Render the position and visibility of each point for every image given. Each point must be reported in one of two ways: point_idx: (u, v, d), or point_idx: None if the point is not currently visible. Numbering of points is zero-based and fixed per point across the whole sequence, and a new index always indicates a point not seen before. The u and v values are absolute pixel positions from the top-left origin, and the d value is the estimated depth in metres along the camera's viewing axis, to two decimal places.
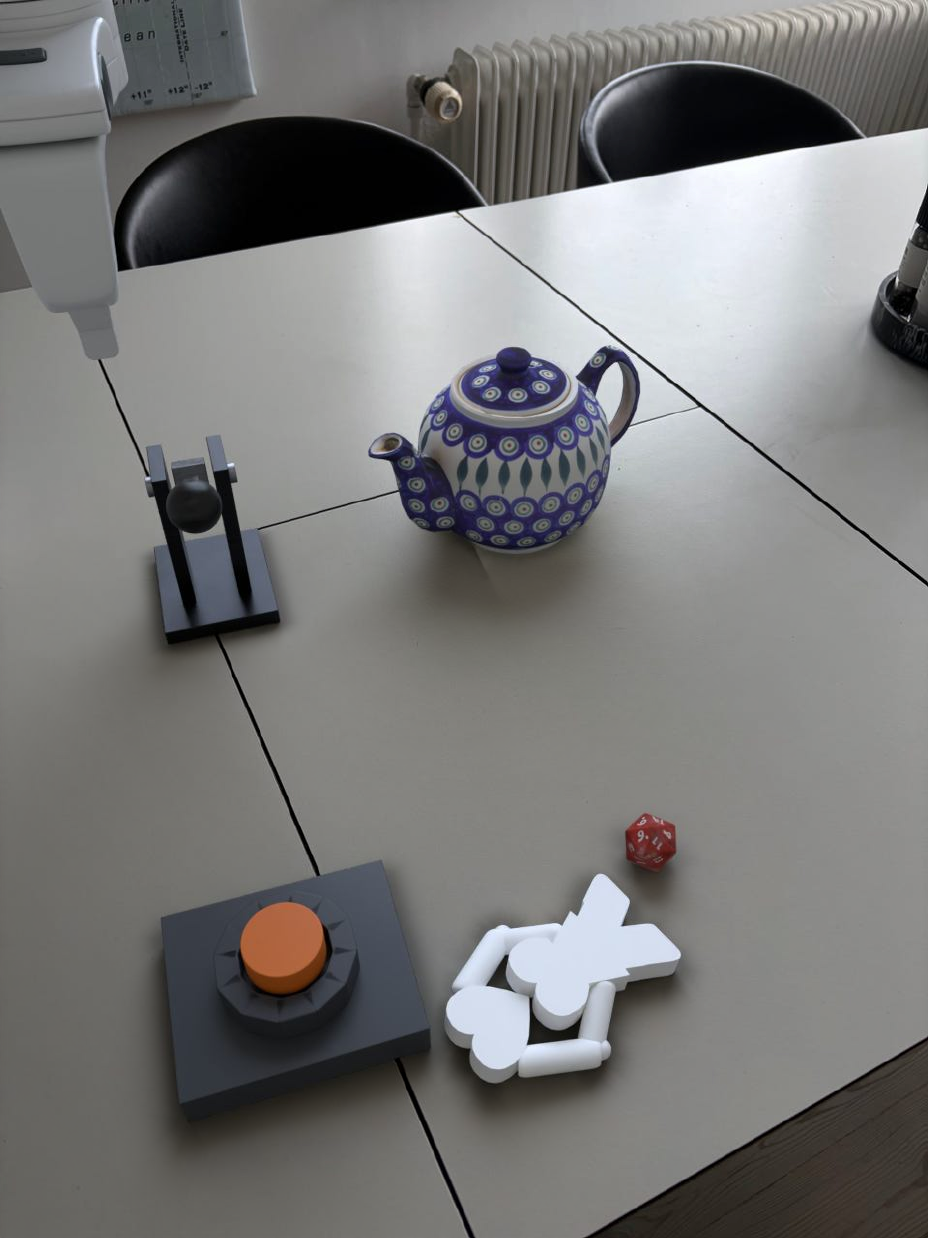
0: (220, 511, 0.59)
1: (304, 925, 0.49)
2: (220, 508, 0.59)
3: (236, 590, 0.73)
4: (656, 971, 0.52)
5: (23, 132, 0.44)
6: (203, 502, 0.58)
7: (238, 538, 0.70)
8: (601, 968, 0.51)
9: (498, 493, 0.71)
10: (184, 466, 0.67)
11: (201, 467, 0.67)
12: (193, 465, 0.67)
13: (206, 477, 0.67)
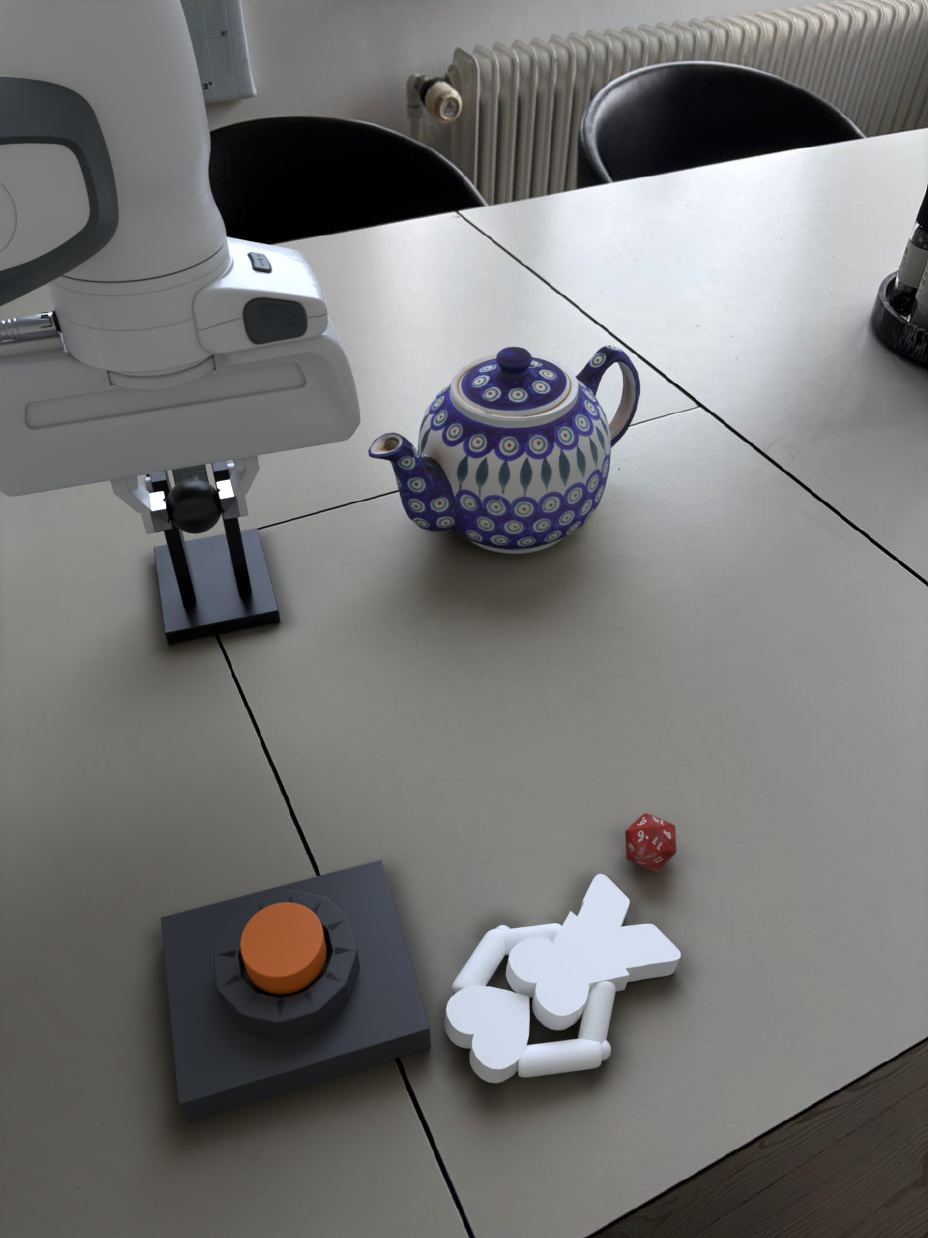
0: (220, 511, 0.59)
1: (304, 925, 0.49)
2: (220, 508, 0.59)
3: (236, 590, 0.73)
4: (656, 972, 0.52)
5: None
6: (203, 502, 0.58)
7: (238, 538, 0.70)
8: (601, 968, 0.51)
9: (498, 493, 0.71)
10: None
11: (201, 467, 0.67)
12: None
13: (206, 477, 0.67)
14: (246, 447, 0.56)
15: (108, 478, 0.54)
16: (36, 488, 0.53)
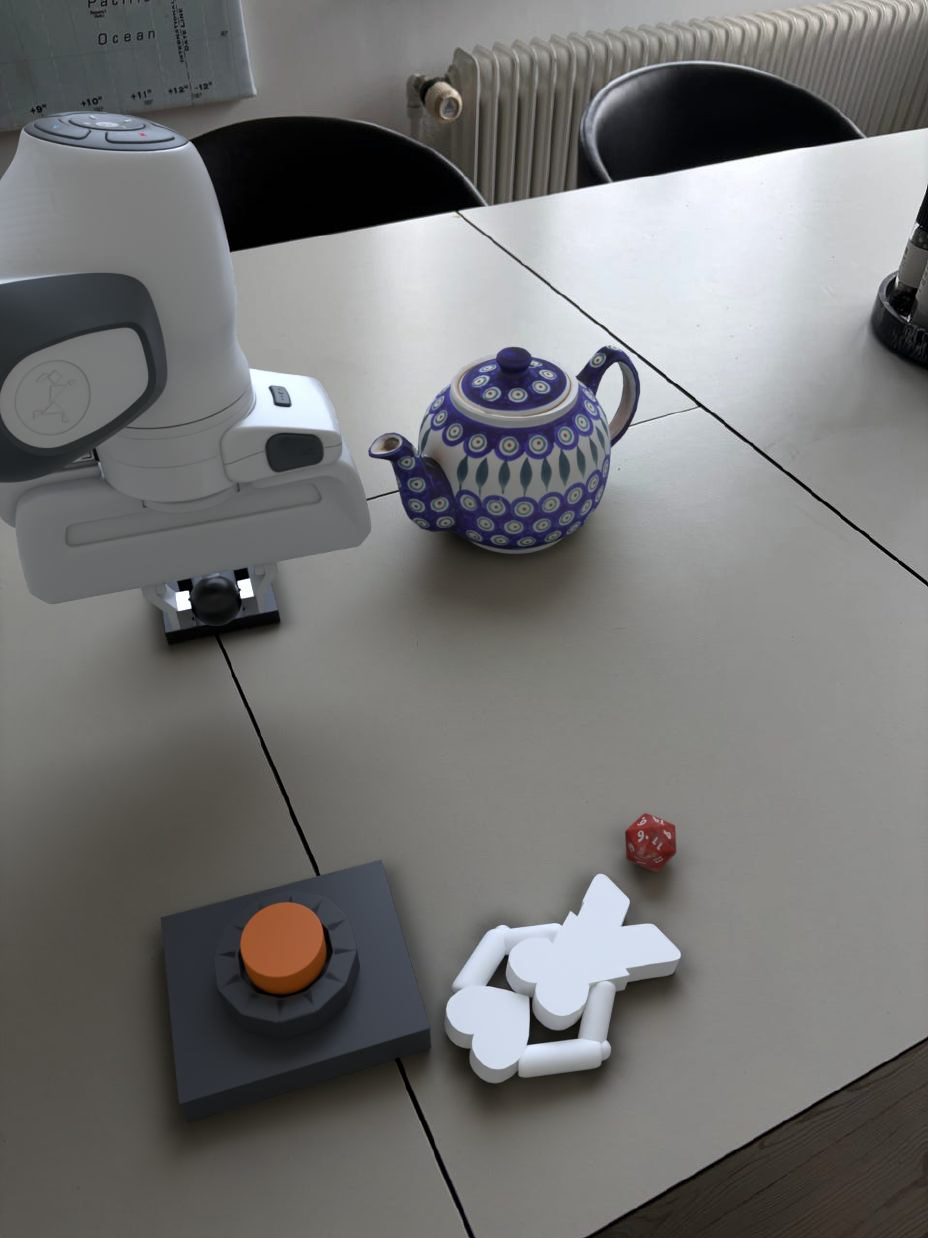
0: (240, 607, 0.64)
1: (304, 925, 0.49)
2: (240, 606, 0.64)
3: None
4: (656, 972, 0.52)
5: None
6: (228, 613, 0.63)
7: None
8: (601, 968, 0.51)
9: (498, 493, 0.71)
10: None
11: None
12: None
13: None
14: (266, 555, 0.60)
15: (139, 586, 0.59)
16: (74, 596, 0.58)
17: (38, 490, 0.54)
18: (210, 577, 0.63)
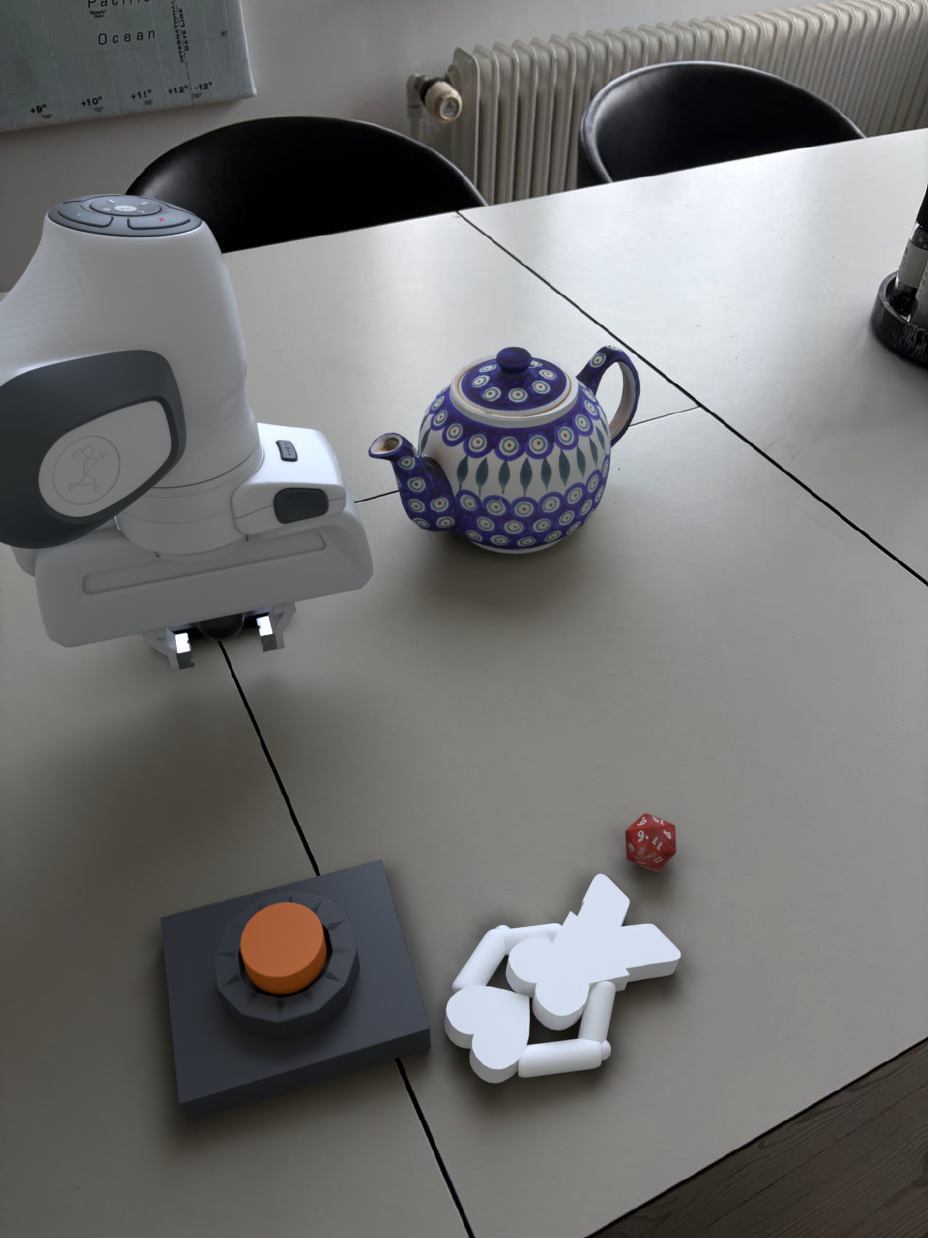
0: None
1: (304, 925, 0.49)
2: None
3: None
4: (656, 972, 0.52)
5: None
6: (232, 632, 0.65)
7: None
8: (601, 968, 0.51)
9: (498, 493, 0.71)
10: None
11: None
12: None
13: None
14: (273, 599, 0.63)
15: (152, 629, 0.62)
16: (90, 640, 0.61)
17: None
18: None
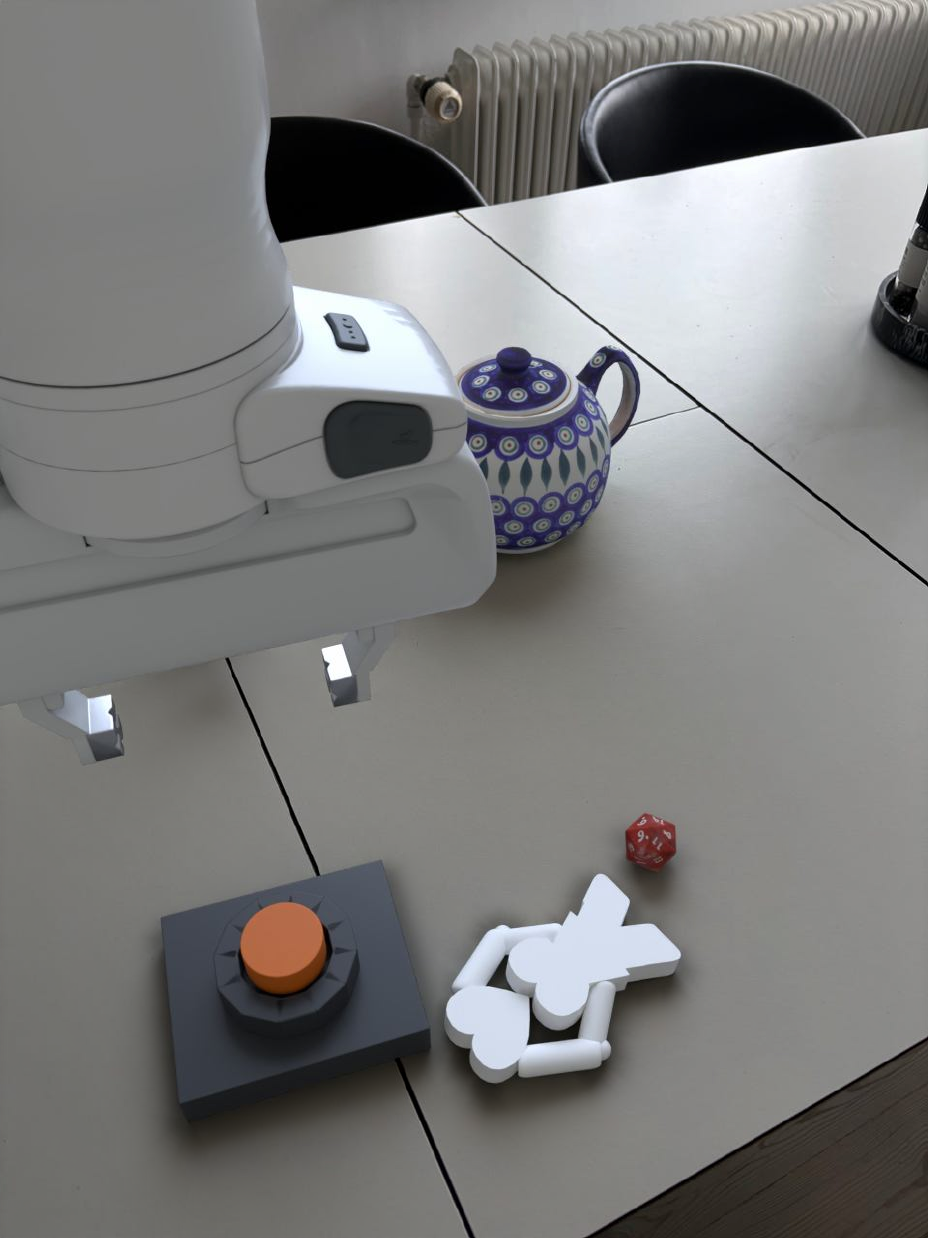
0: None
1: (304, 925, 0.49)
2: None
3: None
4: (656, 972, 0.52)
5: None
6: None
7: None
8: (601, 968, 0.51)
9: (498, 493, 0.71)
10: None
11: None
12: None
13: None
14: (313, 626, 0.34)
15: (85, 685, 0.33)
16: None
17: None
18: None
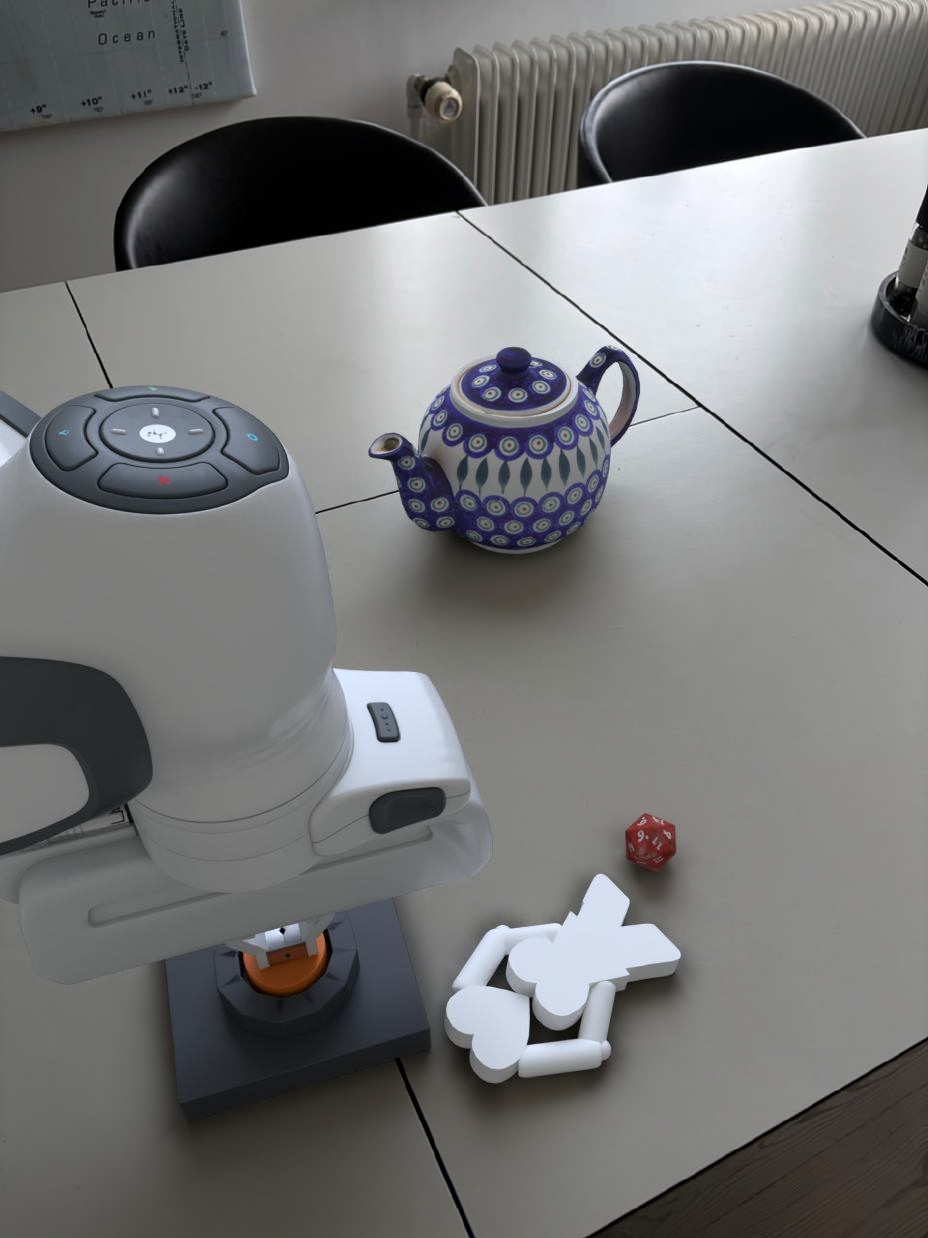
0: None
1: None
2: None
3: None
4: (656, 972, 0.52)
5: None
6: None
7: None
8: (601, 968, 0.51)
9: (498, 493, 0.71)
10: None
11: None
12: None
13: None
14: (355, 901, 0.45)
15: (187, 952, 0.44)
16: (99, 975, 0.43)
17: (50, 867, 0.39)
18: None
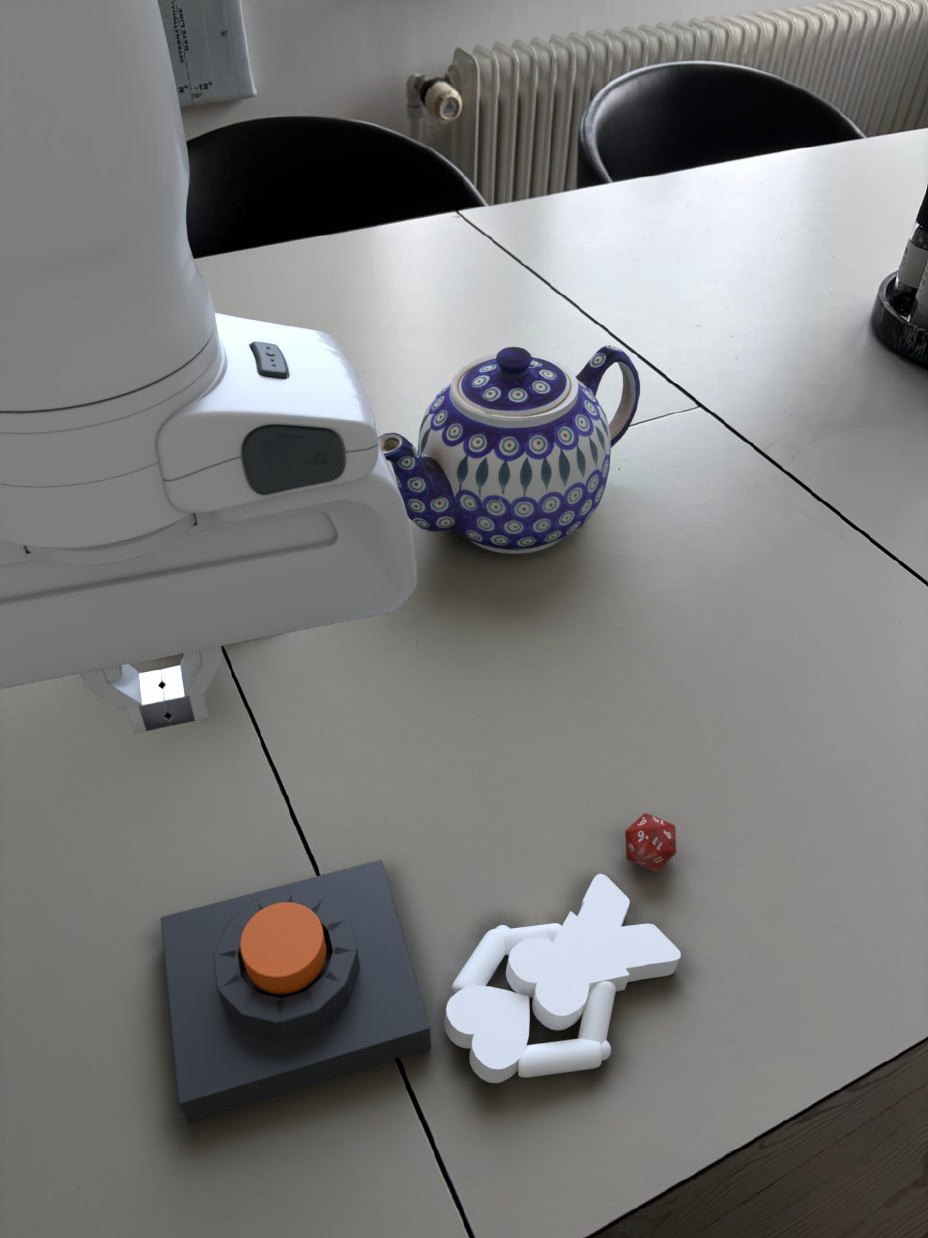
0: None
1: (304, 925, 0.49)
2: None
3: None
4: (656, 972, 0.52)
5: None
6: None
7: None
8: (601, 968, 0.51)
9: (498, 493, 0.71)
10: None
11: None
12: None
13: None
14: (243, 629, 0.36)
15: (29, 681, 0.35)
16: None
17: None
18: None
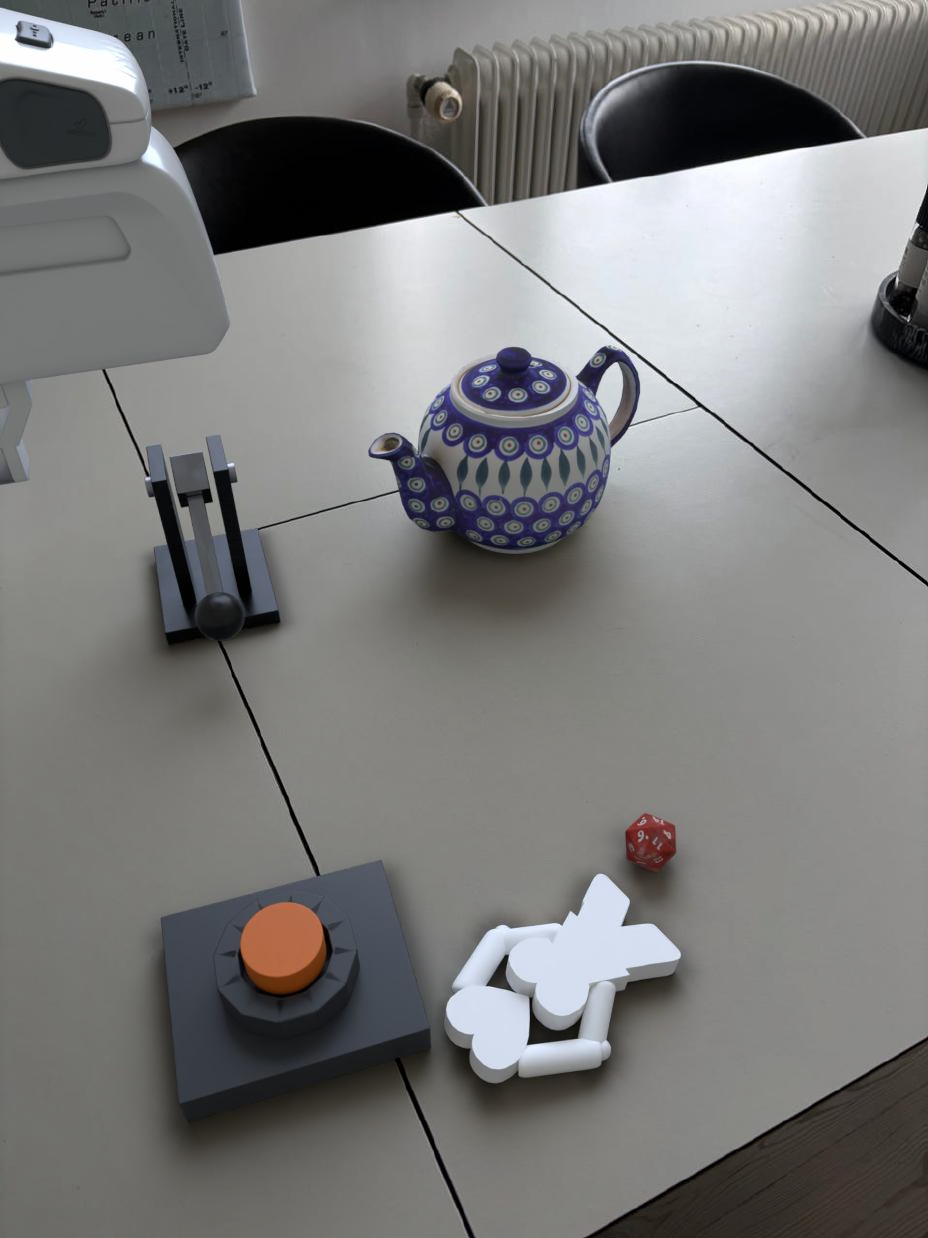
0: None
1: (304, 925, 0.49)
2: None
3: (236, 590, 0.73)
4: (656, 972, 0.52)
5: None
6: (232, 632, 0.65)
7: (238, 538, 0.70)
8: (601, 968, 0.51)
9: (498, 493, 0.71)
10: (189, 490, 0.67)
11: (206, 490, 0.67)
12: (198, 490, 0.67)
13: (210, 494, 0.68)
14: (43, 360, 0.35)
15: None
16: None
17: None
18: (215, 596, 0.65)
